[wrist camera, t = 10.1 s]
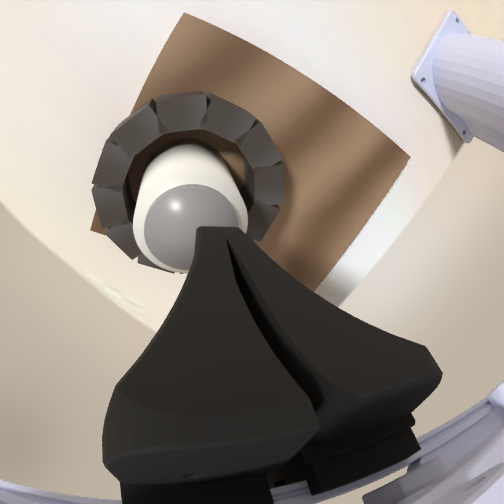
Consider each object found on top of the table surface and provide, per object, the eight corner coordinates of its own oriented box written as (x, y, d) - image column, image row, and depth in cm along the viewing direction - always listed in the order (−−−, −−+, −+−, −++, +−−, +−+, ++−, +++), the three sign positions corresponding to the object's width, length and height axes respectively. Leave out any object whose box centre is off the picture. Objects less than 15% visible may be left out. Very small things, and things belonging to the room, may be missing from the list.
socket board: (402, 152, 21) (432, 170, 18) (306, 287, 27) (321, 316, 24) (175, 12, 12) (175, 0, 9) (86, 220, 18) (74, 250, 15)
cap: (244, 175, 18) (273, 225, 13) (188, 231, 19) (196, 294, 15) (183, 120, 15) (186, 150, 11) (126, 185, 17) (109, 240, 12)
